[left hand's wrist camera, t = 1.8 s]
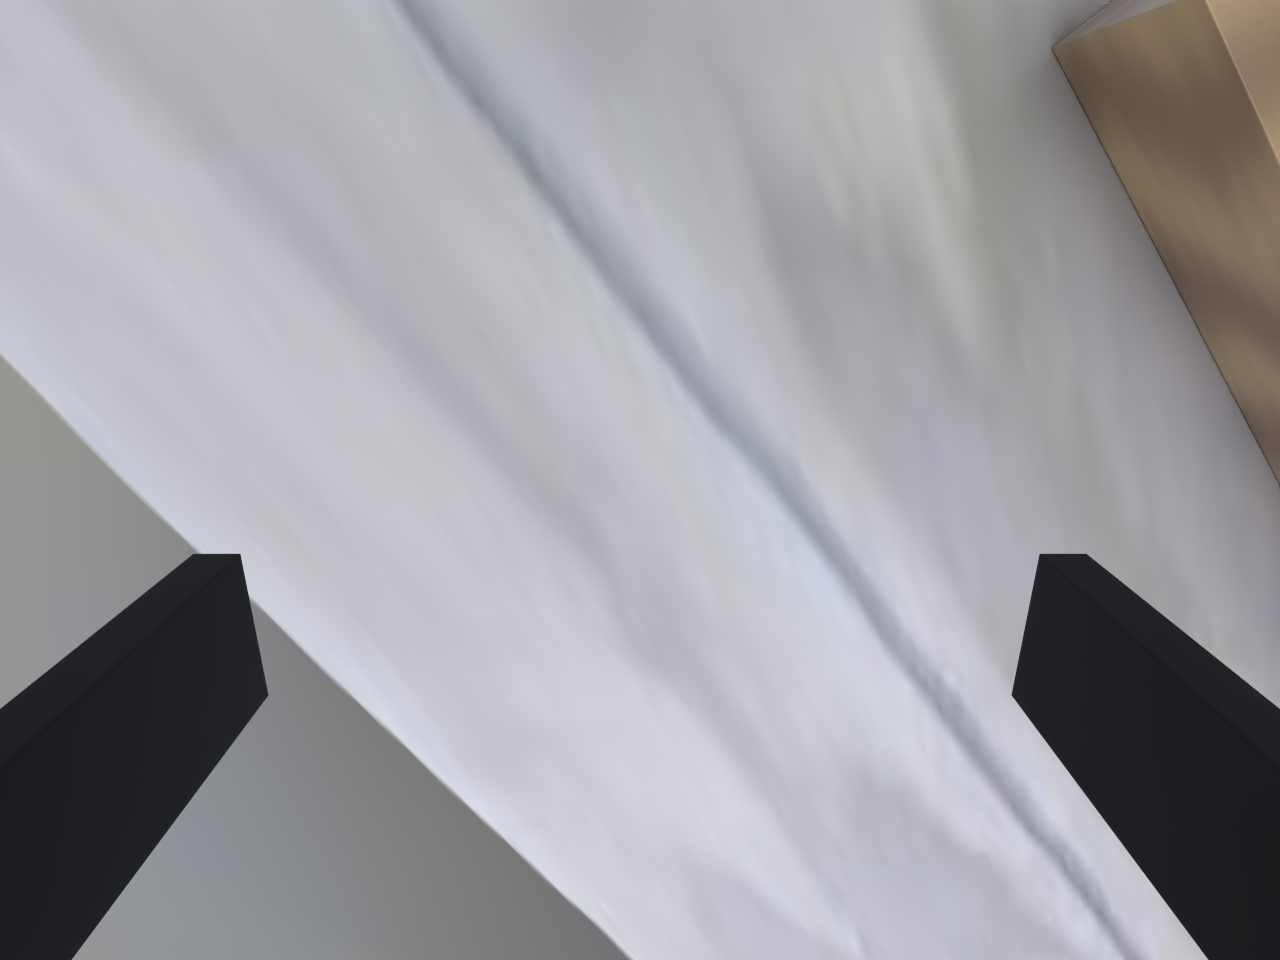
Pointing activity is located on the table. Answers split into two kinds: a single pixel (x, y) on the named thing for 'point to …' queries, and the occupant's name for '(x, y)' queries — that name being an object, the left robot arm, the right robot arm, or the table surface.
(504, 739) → the table surface
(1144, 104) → the bar
